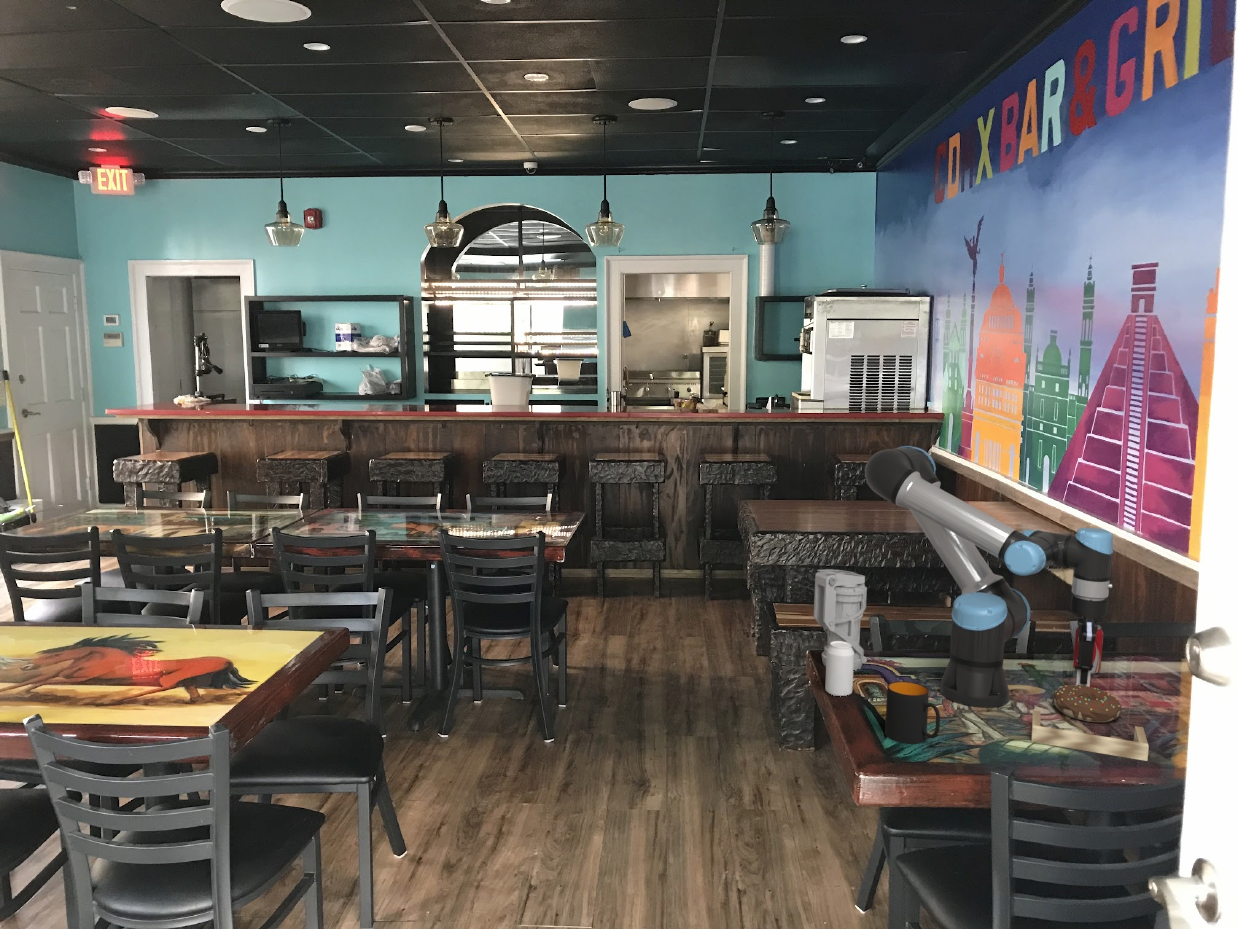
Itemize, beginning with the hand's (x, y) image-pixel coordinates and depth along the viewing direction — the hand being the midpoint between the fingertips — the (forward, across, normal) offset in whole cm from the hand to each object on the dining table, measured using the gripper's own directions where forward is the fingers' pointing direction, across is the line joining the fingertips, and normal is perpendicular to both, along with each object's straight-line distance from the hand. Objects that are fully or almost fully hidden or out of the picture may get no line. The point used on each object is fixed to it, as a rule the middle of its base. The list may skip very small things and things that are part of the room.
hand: (1081, 695), depth 214 cm
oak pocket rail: (+1, -24, 0) cm, 24 cm away
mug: (+2, -38, +34) cm, 51 cm away
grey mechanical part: (+2, +1, +56) cm, 56 cm away
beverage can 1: (+2, -19, +52) cm, 56 cm away
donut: (+2, -8, 0) cm, 8 cm away
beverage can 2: (+2, +24, -3) cm, 24 cm away
